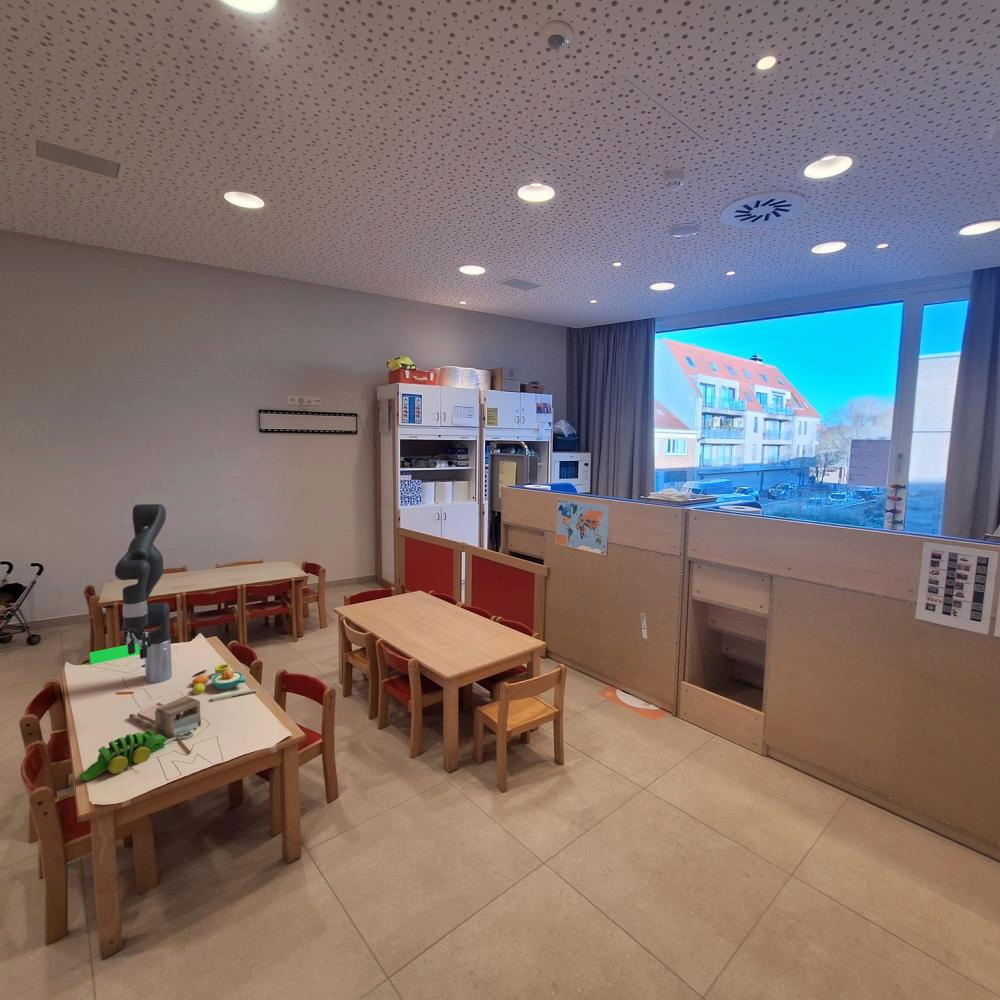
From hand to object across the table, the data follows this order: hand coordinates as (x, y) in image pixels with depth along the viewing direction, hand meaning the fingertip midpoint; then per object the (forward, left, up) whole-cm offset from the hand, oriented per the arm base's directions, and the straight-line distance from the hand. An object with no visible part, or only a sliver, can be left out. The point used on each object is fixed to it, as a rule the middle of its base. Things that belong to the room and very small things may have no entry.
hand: (137, 655), depth 196 cm
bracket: (-58, +20, -23) cm, 65 cm away
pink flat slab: (+11, 0, -22) cm, 25 cm away
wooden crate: (+24, 0, -22) cm, 32 cm away
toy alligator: (+30, -16, -23) cm, 40 cm away
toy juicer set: (+9, +26, -23) cm, 35 cm away
